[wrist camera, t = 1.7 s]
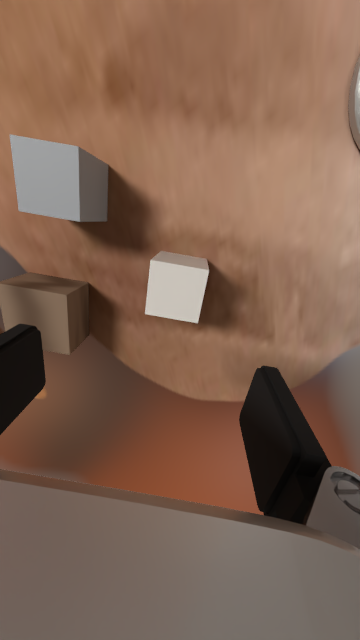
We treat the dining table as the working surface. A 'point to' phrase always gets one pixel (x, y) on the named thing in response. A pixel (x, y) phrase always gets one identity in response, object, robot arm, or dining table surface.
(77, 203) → the grey block
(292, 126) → the dining table surface
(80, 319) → the metal block
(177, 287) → the ceramic block
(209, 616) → the robot arm
